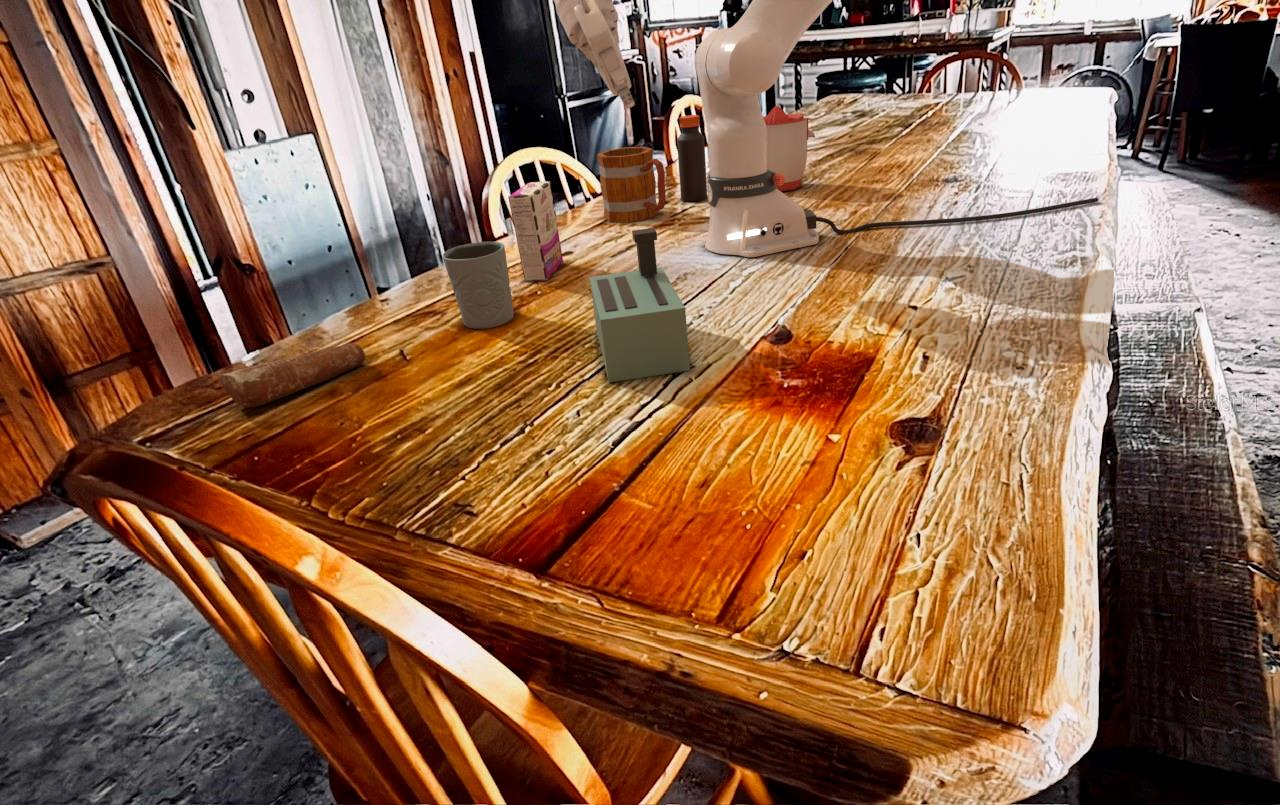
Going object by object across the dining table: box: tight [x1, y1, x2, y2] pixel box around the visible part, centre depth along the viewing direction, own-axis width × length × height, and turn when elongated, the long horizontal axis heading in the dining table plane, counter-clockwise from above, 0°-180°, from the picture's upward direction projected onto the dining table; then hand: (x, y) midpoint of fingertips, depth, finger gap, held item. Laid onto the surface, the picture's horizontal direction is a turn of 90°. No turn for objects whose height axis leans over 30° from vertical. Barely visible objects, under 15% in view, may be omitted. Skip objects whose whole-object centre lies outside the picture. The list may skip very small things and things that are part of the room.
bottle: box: [676, 114, 708, 203], centre depth 177 cm, size 7×7×20 cm
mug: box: [596, 146, 667, 224], centre depth 168 cm, size 20×14×15 cm
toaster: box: [589, 266, 691, 383], centre depth 100 cm, size 11×18×9 cm, turn 8°
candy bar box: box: [508, 181, 564, 282], centre depth 135 cm, size 11×5×16 cm, turn 168°
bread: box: [218, 342, 366, 409], centre depth 100 cm, size 6×19×6 cm, turn 132°
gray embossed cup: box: [442, 241, 515, 330], centre depth 116 cm, size 10×10×12 cm
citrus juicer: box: [763, 105, 816, 192], centre depth 179 cm, size 16×17×20 cm
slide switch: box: [631, 227, 658, 276], centre depth 101 cm, size 3×2×6 cm
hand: (625, 94), depth 114 cm, fingers open, 8 cm apart
